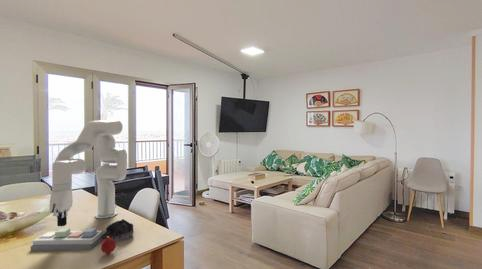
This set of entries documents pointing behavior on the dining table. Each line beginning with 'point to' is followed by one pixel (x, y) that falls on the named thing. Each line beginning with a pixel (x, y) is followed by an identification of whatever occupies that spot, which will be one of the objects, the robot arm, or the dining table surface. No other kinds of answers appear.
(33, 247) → the keypad board
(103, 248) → the onion
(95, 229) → the key slate
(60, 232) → the key sage
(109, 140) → the robot arm
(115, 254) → the dining table surface
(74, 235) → the key terracotta
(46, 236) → the key ivory
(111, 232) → the crystal cluster
